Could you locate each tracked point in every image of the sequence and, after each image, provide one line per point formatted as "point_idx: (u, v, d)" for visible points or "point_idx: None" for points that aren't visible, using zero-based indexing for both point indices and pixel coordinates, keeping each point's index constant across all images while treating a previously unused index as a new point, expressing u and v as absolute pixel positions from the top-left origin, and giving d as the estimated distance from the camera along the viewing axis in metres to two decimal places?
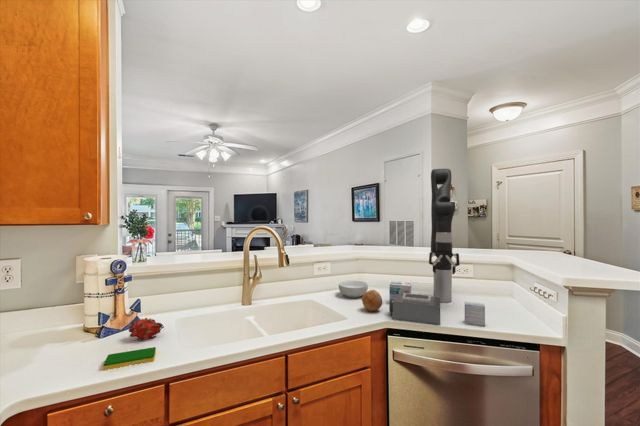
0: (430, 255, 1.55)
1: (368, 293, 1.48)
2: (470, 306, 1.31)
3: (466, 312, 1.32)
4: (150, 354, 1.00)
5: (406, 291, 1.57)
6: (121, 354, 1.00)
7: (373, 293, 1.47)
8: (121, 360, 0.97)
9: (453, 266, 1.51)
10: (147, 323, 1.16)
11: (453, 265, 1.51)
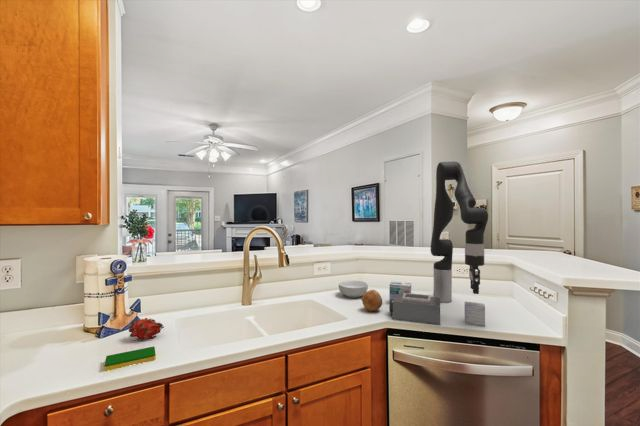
0: (479, 273, 1.26)
1: (368, 293, 1.48)
2: (470, 306, 1.31)
3: (466, 312, 1.32)
4: (151, 353, 1.01)
5: (406, 291, 1.57)
6: (120, 355, 1.00)
7: (373, 293, 1.47)
8: (122, 360, 0.97)
9: None
10: (147, 323, 1.16)
11: None
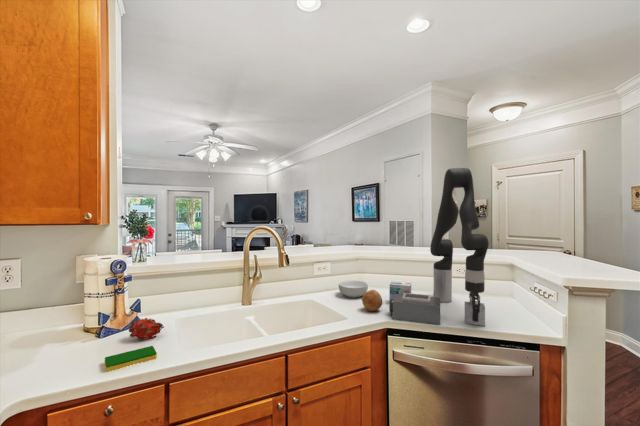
0: (479, 303, 1.27)
1: (368, 293, 1.48)
2: (470, 306, 1.31)
3: (466, 312, 1.32)
4: (152, 352, 1.02)
5: (406, 291, 1.57)
6: (120, 355, 1.00)
7: (373, 293, 1.47)
8: (124, 360, 0.96)
9: None
10: (147, 323, 1.16)
11: None
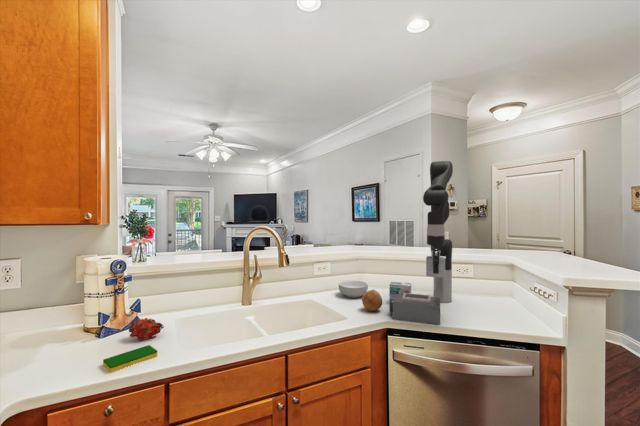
0: (439, 254, 1.32)
1: (368, 293, 1.48)
2: (431, 259, 1.37)
3: (427, 265, 1.37)
4: (152, 350, 1.03)
5: (406, 291, 1.57)
6: (119, 356, 0.99)
7: (373, 293, 1.47)
8: (126, 360, 0.97)
9: None
10: (147, 323, 1.16)
11: None
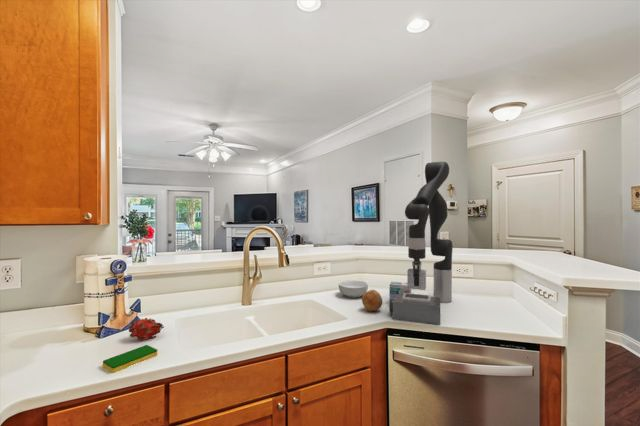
0: (419, 268, 1.35)
1: (368, 293, 1.48)
2: (412, 272, 1.40)
3: (408, 277, 1.40)
4: (152, 349, 1.04)
5: (406, 291, 1.57)
6: (119, 357, 0.99)
7: (373, 293, 1.47)
8: (128, 360, 0.97)
9: None
10: (147, 323, 1.16)
11: None
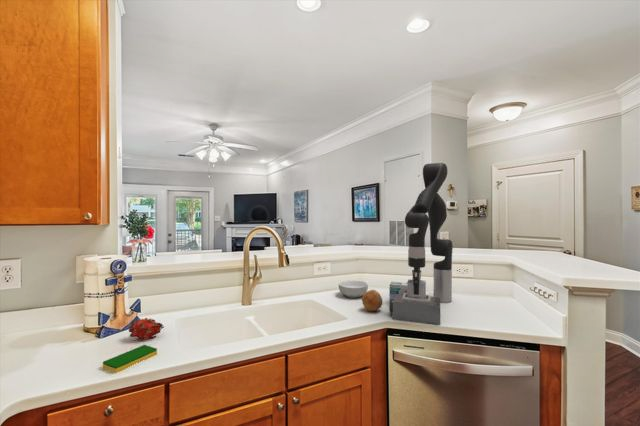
0: (418, 276, 1.34)
1: (368, 293, 1.48)
2: (412, 283, 1.39)
3: (409, 289, 1.40)
4: (152, 349, 1.04)
5: (406, 291, 1.57)
6: (119, 357, 0.98)
7: (373, 293, 1.47)
8: (130, 359, 0.97)
9: None
10: (147, 323, 1.16)
11: None
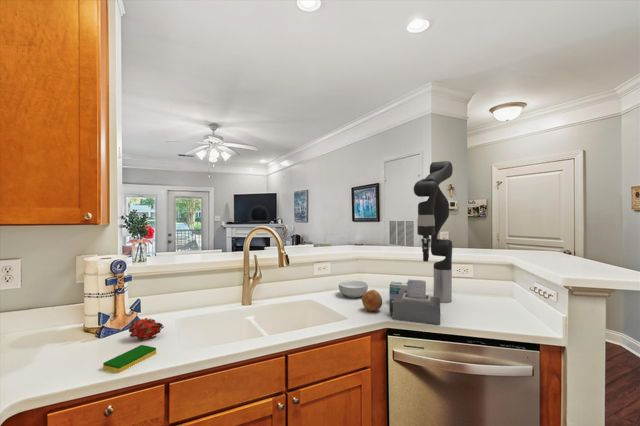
0: (428, 242, 1.35)
1: (368, 293, 1.48)
2: (412, 283, 1.39)
3: (409, 289, 1.40)
4: (151, 348, 1.05)
5: (406, 291, 1.57)
6: (119, 358, 0.98)
7: (373, 293, 1.47)
8: (131, 359, 0.97)
9: None
10: (147, 323, 1.16)
11: None
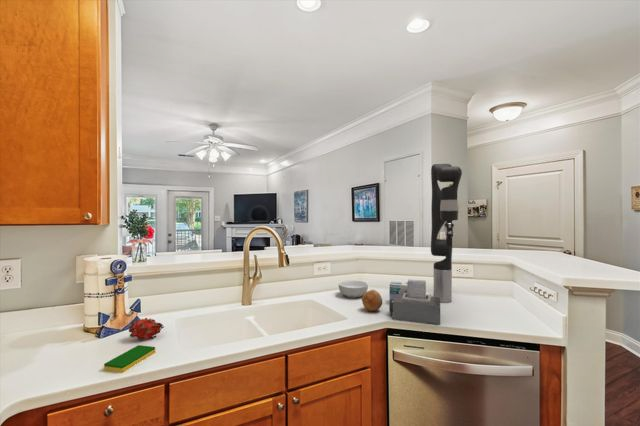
0: (452, 226, 1.35)
1: (368, 293, 1.48)
2: (412, 283, 1.39)
3: (409, 289, 1.40)
4: (150, 347, 1.05)
5: (406, 291, 1.57)
6: (119, 358, 0.98)
7: (373, 293, 1.47)
8: (133, 359, 0.97)
9: None
10: (147, 323, 1.16)
11: None
